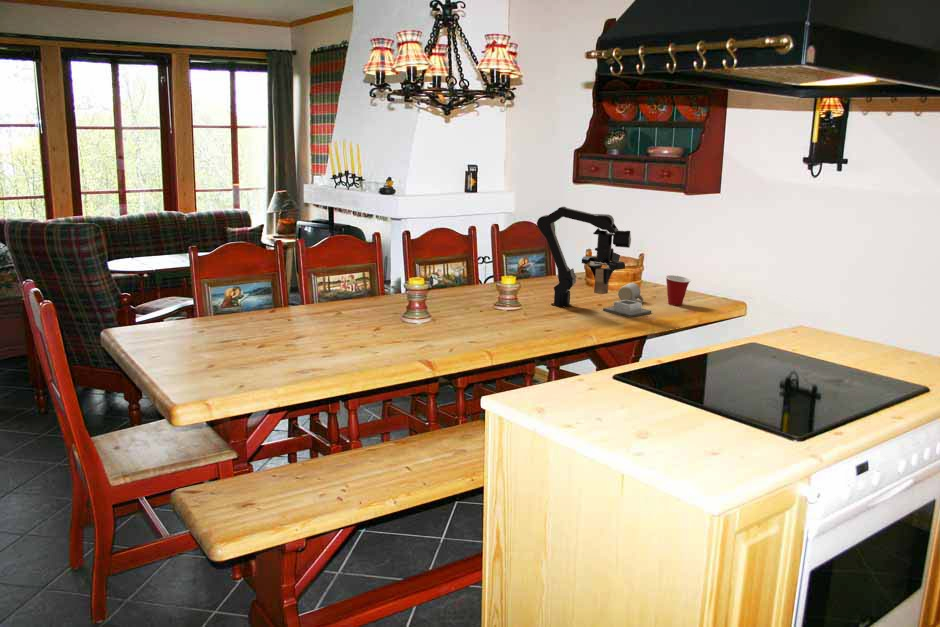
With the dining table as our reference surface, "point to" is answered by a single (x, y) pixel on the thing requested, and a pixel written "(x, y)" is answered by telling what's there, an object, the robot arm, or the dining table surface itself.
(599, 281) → the walnut post
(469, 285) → the dining table surface
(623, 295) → the ceramic mug
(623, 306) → the metal square socket base
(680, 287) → the plastic cup
